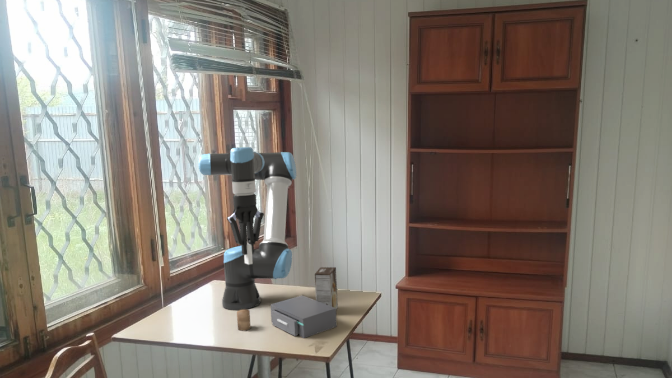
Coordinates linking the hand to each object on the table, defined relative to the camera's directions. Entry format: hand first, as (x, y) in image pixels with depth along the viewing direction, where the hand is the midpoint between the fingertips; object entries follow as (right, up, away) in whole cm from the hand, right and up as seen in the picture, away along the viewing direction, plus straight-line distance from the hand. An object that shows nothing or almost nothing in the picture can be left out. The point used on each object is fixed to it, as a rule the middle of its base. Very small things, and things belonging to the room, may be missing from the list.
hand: (248, 263), depth 166 cm
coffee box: (+26, -22, +21) cm, 40 cm away
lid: (+17, -20, +8) cm, 27 cm away
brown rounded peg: (-3, -24, +7) cm, 25 cm away
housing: (+18, -23, +9) cm, 30 cm away
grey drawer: (+16, -23, +7) cm, 29 cm away
